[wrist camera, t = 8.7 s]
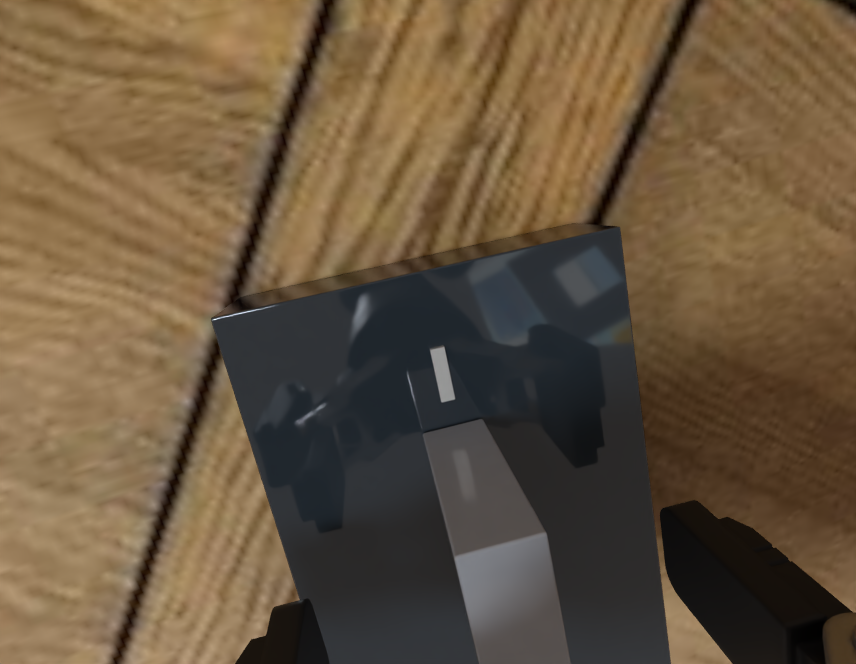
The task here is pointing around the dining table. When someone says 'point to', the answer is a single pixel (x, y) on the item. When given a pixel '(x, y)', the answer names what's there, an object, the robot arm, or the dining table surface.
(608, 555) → the lever base
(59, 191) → the dining table surface
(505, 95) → the dining table surface
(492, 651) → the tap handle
